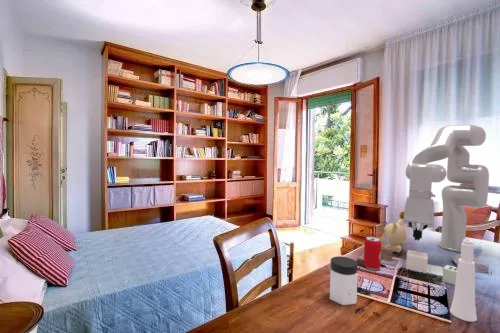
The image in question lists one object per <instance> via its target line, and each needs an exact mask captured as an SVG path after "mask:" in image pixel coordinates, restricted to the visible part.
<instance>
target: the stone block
mask: <svg viewBox="0 0 500 333" xmlns="http://www.w3.org/2000/svg"><path fill="white" fill-rule="evenodd" d="M450 258H451V260H452V261H453V262H454V263H455V265H456V266H457V267H458V260H459V259H460V258H461V253H460V254H459V253H457V254H453V255H451V256H450ZM473 262H475V273H481V274H489V271H490V269H489V268H490V266H489V264H488V263H487V262H486V261H484V260H482V259H478V258H477V257H476V256H475V255H473Z"/></svg>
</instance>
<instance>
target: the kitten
mask: <svg viewBox="0 0 500 333" xmlns="http://www.w3.org/2000/svg"><path fill="white" fill-rule="evenodd" d="M382 237H383V239H384V240H385V242H387V244H386V245H385V246H392V249H393V252H394V253H400V252H401V251H402V249H403V243H405V242H406V240H407V231H406V229H405V227H404V226H403V220H402V219H401V218H399V219H398V221H397V222H389V223H388V224H386V225H385V226H384V227H383V230H382Z"/></svg>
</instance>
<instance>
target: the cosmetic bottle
mask: <svg viewBox="0 0 500 333" xmlns="http://www.w3.org/2000/svg"><path fill="white" fill-rule="evenodd" d="M474 250H475V246H474V241H473V240H469V239H465V240H463V243H462V244H461V252H460V254H461V258H460V259H459V260H458V266H457V275H456V284H455V285H454V292H453V298H452V301H451V302H452V303H451V307H450V309H449V313H450V314H451V315H452V316H454V317H456V318H457V319H459V320H461V321H464V322H470V323H473V322H476V321H477V320H478V316H477V311H476V310H477V309H476V296H475V295H476V294H475V293H476V292H475V290H476V287H475V285H476V276H475V275H476V272H475V262H473V256H474Z"/></svg>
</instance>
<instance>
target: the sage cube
mask: <svg viewBox="0 0 500 333" xmlns="http://www.w3.org/2000/svg"><path fill="white" fill-rule="evenodd" d="M457 267H458V266H457ZM457 267H456V266H453V265H449V264H446V265H445V266H444V267H442V282H444V283H447V284H448V285H449V284H450V285H454V286H455V284H456V275H457Z"/></svg>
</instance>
